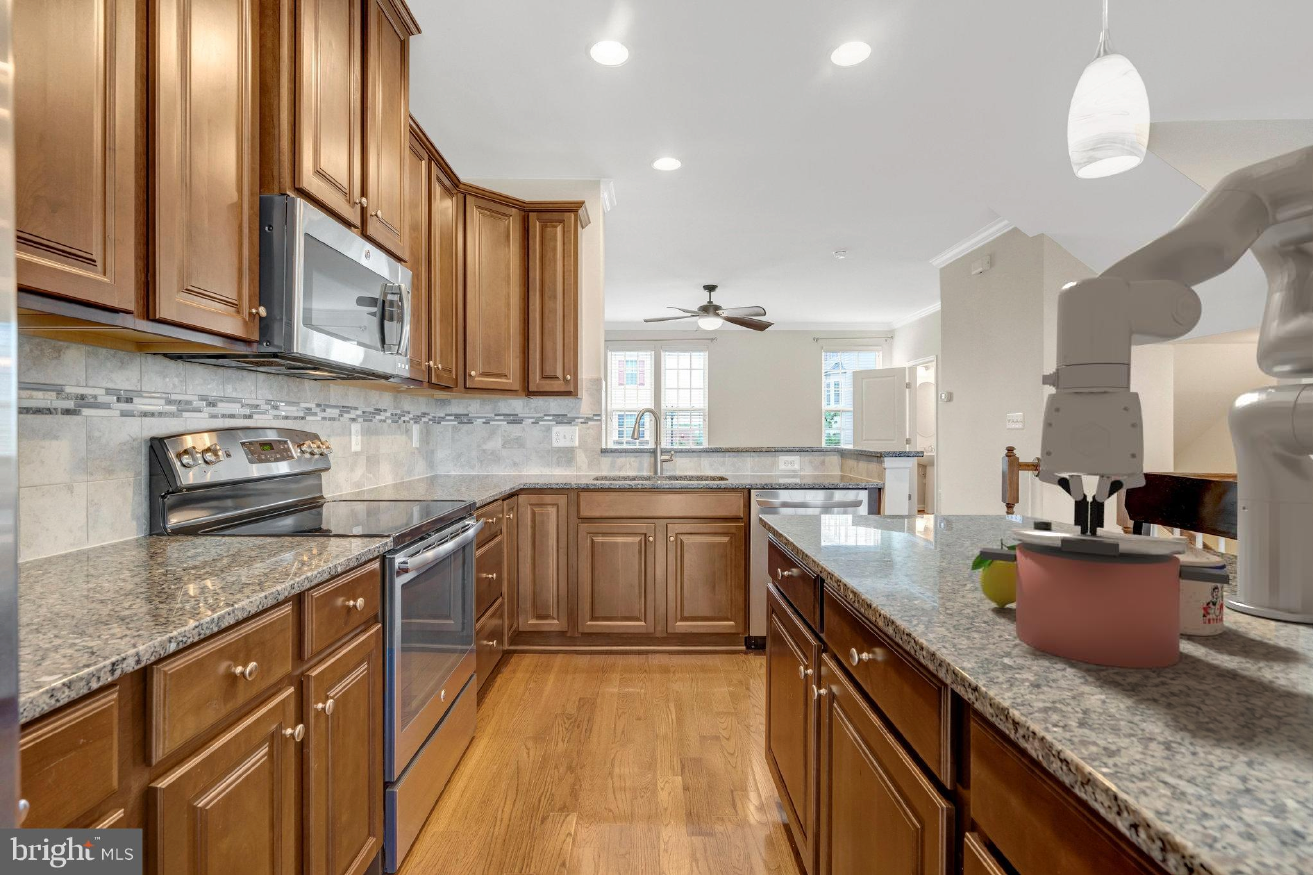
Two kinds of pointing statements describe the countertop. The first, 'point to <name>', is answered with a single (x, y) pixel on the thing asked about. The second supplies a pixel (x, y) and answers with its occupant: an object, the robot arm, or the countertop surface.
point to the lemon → (998, 579)
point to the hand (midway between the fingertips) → (1088, 533)
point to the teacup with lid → (1200, 594)
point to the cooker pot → (1101, 603)
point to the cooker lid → (1097, 541)
